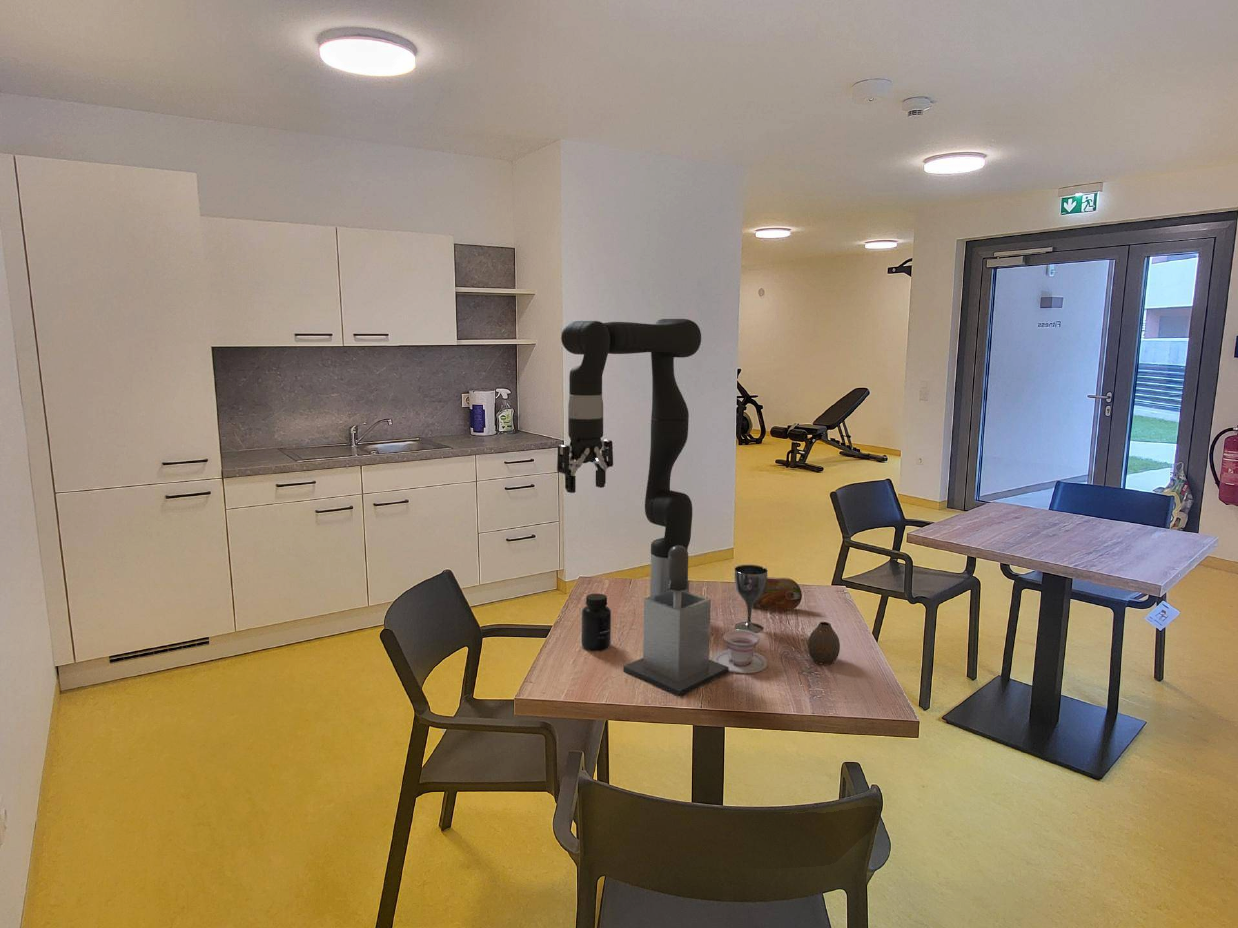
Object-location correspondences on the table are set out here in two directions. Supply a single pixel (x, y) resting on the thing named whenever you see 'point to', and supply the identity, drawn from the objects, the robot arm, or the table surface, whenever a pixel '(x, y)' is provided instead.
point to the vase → (823, 644)
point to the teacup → (741, 652)
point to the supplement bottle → (596, 623)
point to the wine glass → (750, 591)
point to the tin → (779, 595)
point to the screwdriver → (678, 572)
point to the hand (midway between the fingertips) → (585, 489)
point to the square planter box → (676, 644)
